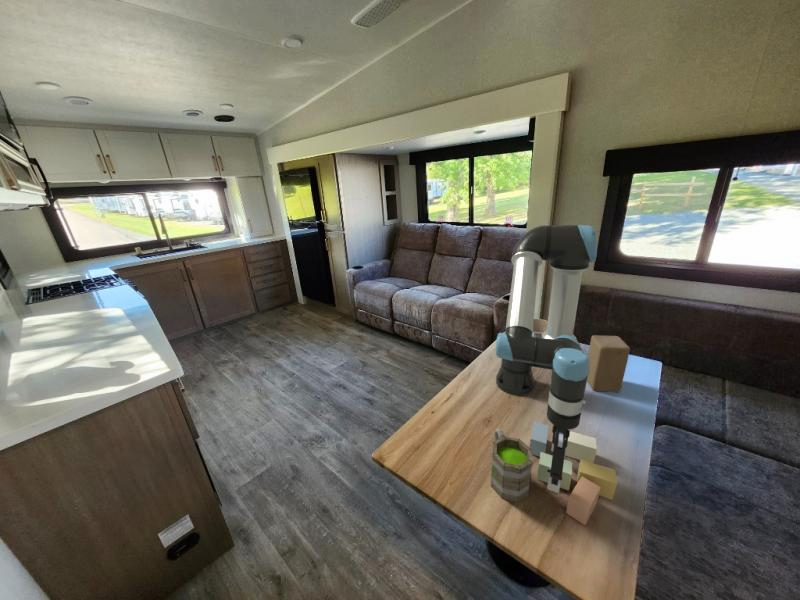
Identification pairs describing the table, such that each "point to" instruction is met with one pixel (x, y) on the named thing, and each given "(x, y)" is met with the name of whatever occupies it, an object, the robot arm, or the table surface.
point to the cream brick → (581, 447)
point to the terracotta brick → (583, 500)
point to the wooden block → (607, 363)
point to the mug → (511, 467)
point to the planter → (539, 327)
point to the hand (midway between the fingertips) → (554, 469)
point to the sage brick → (546, 464)
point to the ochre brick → (599, 477)
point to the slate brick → (538, 438)
